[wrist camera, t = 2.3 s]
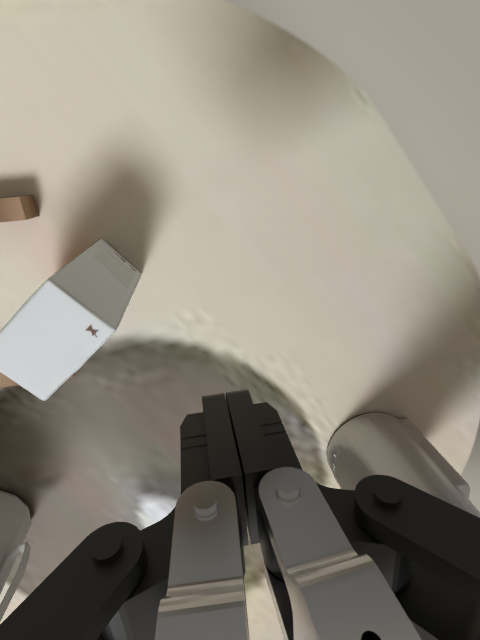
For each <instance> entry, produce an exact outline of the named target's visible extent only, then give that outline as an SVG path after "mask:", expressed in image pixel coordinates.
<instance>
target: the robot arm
mask: <svg viewBox="0 0 480 640" xmlns="http://www.w3.org/2000/svg"><path fill="white" fill-rule="evenodd" d="M202 403H203V412H202V413H195V414H189V415H187V416H186V417H185V419H184V421H183V423H182V424H181V426H180V436H181V495H180V497H179V498H178V500H177V503H176V506H175V508H174V509H173V510H172V511H171V513H169V514H168V515H167V516H166V517H165V518H163V519H162V520H160V521H159V522H157V523H155V524H153V525H151V526H149V527H147V528H145V529H143V530H141V531H140V530H139V529H138V528H137V527H136V526H134V525H133V524H130V523H127V522H114V523H110V524H107V525H104V526H102V527H100V528H98V529H97V530H95V531H94V532H92V533H91V534H90V535H89V536H87V537H86V538H85V539H84V540H83V541H82V542H81V543H80V544H79V545H78V546H77V547H76V548H75V549H74V550H73V551H72V552H71V553H70V555H69V556H68V557H67V558H66V559H65V560H64V561H63V562H62V563H61V564H60V565H59V566H58V567H57V568H56V569H55V570H54V571H53V572H52V573H51V574H50V575H49V576H48V577H47V578H46V579H45V580H44V581H43V582H42V583H41V584H40V585H39V586H38V587H37V588H36V589H35V590H34V591H33V592H32V593H31V594H30V595H29V596H28V597H27V598H26V599H25V600H24V601H23V602H22V603H21V604H20V605H19V606H18V607H17V608H16V609H15V610H14V611H13V612H12V613H11V614H10V615H9V616H8V617H7V618H6V619H5V620H4V621H3V622H2V623H1V624H0V640H250V639H249V628H248V617H247V607H246V596H245V585H244V575H245V558H244V548H243V546H246V545H248V534H247V527H248V532H249V537H250V542H251V544H255V543H260V544H261V549H262V553H263V558H264V572H265V576H266V580H267V583H268V586H269V590H270V593H271V596H272V600H273V603H274V606H275V610H276V613H277V616H278V620H279V623H280V626H281V630H282V633H283V636H284V640H480V512H479V511H478V510H477V509H476V507H475V506H474V505H473V504H472V503H471V502H470V500H469V499H468V498H469V493H470V487H469V485H468V483H467V482H466V481H465V480H464V479H463V478H462V477H461V476H460V475H459V473H458V472H457V471H456V470H455V469H454V468H453V467H452V466H451V465H450V464H449V463H448V462H447V460H446V459H445V458H444V457H443V456H442V455H441V454H440V453H439V452H438V451H437V450H436V449H435V447H434V446H433V445H432V444H431V443H430V442H429V441H428V440H427V439H426V438H425V437H424V436H423V434H422V433H421V432H420V431H419V430H418V429H417V428H416V427H415V426H414V425H413V424H412V422H411V421H410V420H409V419H408V418H404V419H398V418H395V417H393V416H391V415H389V414H385V413H368V414H363V415H360V416H357V417H355V418H353V419H351V420H350V421H348V422H347V423H345V424H344V425H343V426H341V427H340V428H339V429H338V430H337V432H336V433H335V434H334V436H333V437H332V439H331V440H330V443H329V446H328V449H327V460H328V463H329V466H330V468H331V470H332V472H333V474H334V477H335V479H336V481H337V483H338V484H339V486H340V488H341V489H334V488H329V487H325V486H322V485H320V484H318V483H316V482H315V481H314V479H313V478H312V477H311V476H310V475H309V474H308V473H306V472H304V471H303V470H302V468H301V465H300V463H299V461H298V458H297V456H296V454H295V452H294V449H293V447H292V445H291V442H290V440H289V438H288V435H287V433H286V431H285V428H284V426H283V424H282V421H281V419H280V417H279V415H278V412H277V410H275V409H274V408H273V407H272V406H270V405H269V404H268V403H267V402H265V403H258V404H253V402H252V399H251V396H250V393H249V391H248V389H246V390H240V391H233V392H226V399H225V395H224V393H220V394H214V395H207V396H202ZM246 522H247V523H246Z"/></svg>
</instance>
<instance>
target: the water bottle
mask: <svg viewBox="0 0 480 640" xmlns="http://www.w3.org/2000/svg"><path fill="white" fill-rule="evenodd" d="M30 525H31V519H30V512H29V509H28V507H27V505H26V504H25V503H24V502H22V501H21V500H20V499H19V498H18V497H17V496H16V495H13V494H10V493H7V492H4V491H1V490H0V594H1V592H2V589H3V587H4V585H5V582H6V580H7V578H8V575H9V573H10V571H11V569H12V566H13V564H14V562H15V559H16V558H17V557H18V556H19V555H20V554H21V553H22V552H24V554H23V557H22V560H21V563H20V565H19V568H18V571H17V573H16V575H15V577H14V579H13V581H12V583H11V585H10V587H9V589H8V591H7V593H6V595H5V597H4V599H3V600H2V602H1V604H0V621H1V619H2V617H3V615H4V613H5V611H6V609H7V607H8V605H9V603H10V601H11V599H12V597H13V595H14V593H15V591H16V589H17V587H18V585H19V583H20V581H21V579H22V577H23V575H24V571H25V568H26V565H27V562H28V559H29V554H30V546H29V544H28V542H26V543H23V541H24V539H25V536H26V534H27V532H28V529H29V527H30Z"/></svg>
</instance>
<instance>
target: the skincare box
mask: <svg viewBox="0 0 480 640" xmlns="http://www.w3.org/2000/svg"><path fill="white" fill-rule="evenodd" d="M141 275H142V274H141V273H140V272H139V271H138V270H137V269H135V268H134V267H133V266H132V265H131V264H130V263H129V262H128V261H126V260H125V259H124V258H123V257H122V256H121V255H120V254H118V253H117V252H116V251H115V250H114V249H113V248H112V247H111V246H109V245H108V244H107V243H106V242H105V241H104V240H103V239H100V240H99V241H97V242H96V243H95V244H93V245H92V246H91V247H90V248H88V249H87V250H85V251H84V252H83V253H81V254H80V255H79V256H77V257H76V258H75V259H74V260H72V261H71V262H70V263H68V264H67V265H66V266H64V267H63V268H62V269H60V270H59V271H58V272H56V273H55V274H54V275H53V276H51V277H50V278H48V279H47V280H46V281H45V282H44V283H43V284H42V285H41V286H40V287H39V288H38V289H37V290H36V291H35V292H34V293H33V295H32V296H31V297H30V298H29V299H28V300H27V301H26V302H25V303H24V304H23V305H22V306H21V308H20V309H19V310H18V311H17V312H16V314H15V315H14V316H13V317H12V318H11V319H10V321H9V322H8V323H7V324H6V325H5V326H4V327H3V328H2V330H1V331H0V372H1V373H2V374H4V375H5V376H7V377H8V378H10V379H11V380H13V381H14V382H16V383H17V384H19V385H20V386H22V387H23V388H25V389H26V390H28V391H29V392H31V393H32V394H34V395H35V396H36V397H38V398H39V399H41V400H43V401H45V400H47V399H48V398H49V397H50V396H51V395H52V394H53V393H54V392H55V391H56V390H57V389H58V388H59V387H60V386H61V385H62V384H63V383H64V382H65V381H66V380H67V379H68V378H69V377H70V376H71V375H72V374H74V373H75V372H76V371H77V370H78V369H79V368H80V367H81V366H82V365H83V364H84V363H85V362H86V361H87V360H88V359H89V358H90V357H91V356H92V355H93V354H94V353H95V352H96V351H97V350H98V349H99V348H100V347H101V346H102V345H103V344H104V343H105V342H106V341H107V340H108V339H109V338H110V336H111V335H112V334H113V333H114V332H115V331H116V329H117V327H118V326H119V324H120V322H121V319H122V317H123V314H124V312H125V310H126V308H127V306H128V304H129V301H130V299H131V297H132V295H133V292H134V290H135V288H136V286H137V284H138V281H139V279H140V277H141Z"/></svg>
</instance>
